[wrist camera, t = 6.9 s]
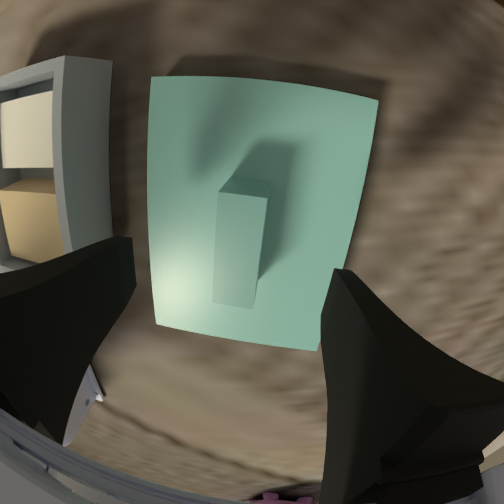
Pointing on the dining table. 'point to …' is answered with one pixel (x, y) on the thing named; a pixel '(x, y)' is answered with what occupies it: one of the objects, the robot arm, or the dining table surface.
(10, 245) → the box
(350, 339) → the robot arm
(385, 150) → the dining table surface
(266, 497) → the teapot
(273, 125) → the lid
